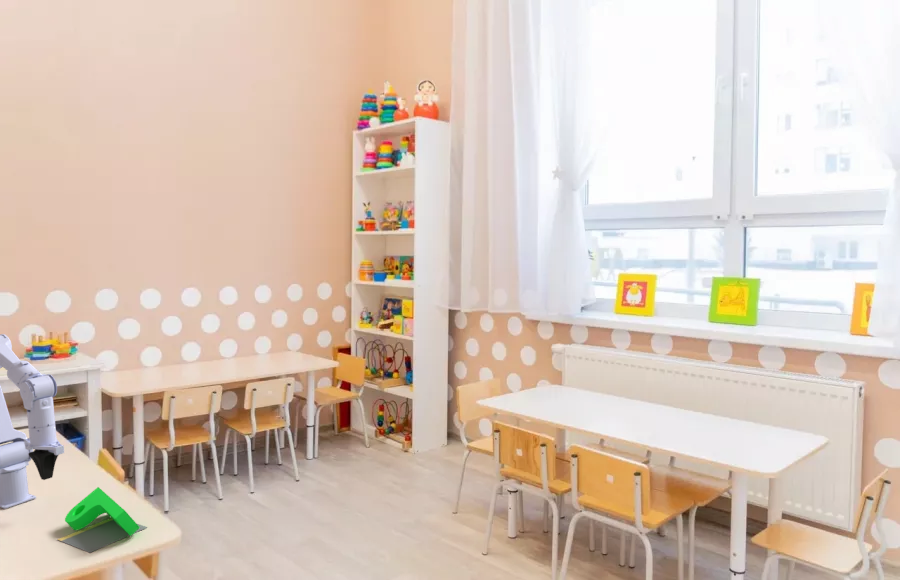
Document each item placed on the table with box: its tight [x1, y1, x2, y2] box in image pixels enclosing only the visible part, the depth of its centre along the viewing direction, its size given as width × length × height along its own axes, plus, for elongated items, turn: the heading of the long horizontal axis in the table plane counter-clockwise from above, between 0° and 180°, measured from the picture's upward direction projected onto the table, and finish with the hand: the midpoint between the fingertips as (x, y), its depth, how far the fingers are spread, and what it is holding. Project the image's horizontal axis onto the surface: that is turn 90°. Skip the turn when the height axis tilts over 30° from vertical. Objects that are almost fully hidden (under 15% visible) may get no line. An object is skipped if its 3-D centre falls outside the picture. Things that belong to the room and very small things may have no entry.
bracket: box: [64, 486, 140, 537], centre depth 161 cm, size 20×10×7 cm
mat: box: [57, 517, 148, 554], centre depth 160 cm, size 13×14×1 cm
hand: (46, 478), depth 171 cm, fingers closed
